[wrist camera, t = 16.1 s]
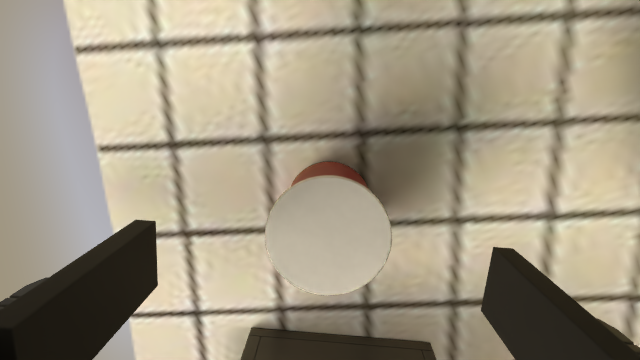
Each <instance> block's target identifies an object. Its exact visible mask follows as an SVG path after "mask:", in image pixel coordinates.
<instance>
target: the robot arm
mask: <svg viewBox="0 0 640 360" xmlns="http://www.w3.org/2000/svg"><path fill="white" fill-rule="evenodd" d="M157 286H158V281H157V251H156V221H145V220H135V221H133V222H132V223H130V224H129V225H127V226H126V227H124V228H123V229H121V230H120V231H118V232H117V233H115V234H114V235H112V236H111V237H109V238H108V239H106V240H105V241H103V242H102V243H100V244H99V245H97V246H96V247H94V248H93V249H91V250H90V251H88V252H87V253H85V254H84V255H82V256H81V257H79V258H78V259H76V260H75V261H73V262H72V263H70V264H69V265H67V266H66V267H64V268H63V269H61V270H60V271H58V272H57V273H55V274H54V275H52V276H51V277H49V278H44V279H41V280H39V281H36V282H34V283H31V284H29V285H27V286H25V287H23V288H22V289H20V290H18V291H17V292H16V293H14V294H12V295H11V296H10V298H6V299H4V300H3V301H1V302H0V360H92V359H93V358H94V357H95V356H96V355H97V354H98V352H99V351H100V350H101V349H102V348H103V347H104V346H105V345H106V343H107V342H108V341H109V340H110V339H111V338H112V337H113V336H114V334H115V333H116V332H117V331H118V330H119V329H120V328H121V326H122V325H123V324H124V323H125V322H126V321H127V320H128V319H129V317H130V316H131V315H132V314H133V313H134V312H135V311H136V310H137V308H138V307H139V306H140V305H141V304H142V303H143V302H144V300H145V299H146V298H147V297H148V296H149V295H150V294H151V292H152V291H153V290H154V289H155V288H156V287H157ZM481 311H482V313H483V314H484V316H485V317H486V318H487V320H488V321H489V323H490V324H491V325H492V327H493V328H494V330H495V331H496V333H497V334H498V335H499V337H500V338H501V340H502V341H503V343H504V344H505V345H506V347H507V348H508V350H509V351H510V353H511V354H512V355H513V357H514V358H515V360H640V348H639V347H638V346H637V345H634V344H633V342H632V341H631V340H630V339H628V338H627V337H626V336H625V335H623V334H622V333H621V332H620V331H619V330H617V329H615V328H614V327H612V326H610V325H608V324H606V323H605V322H603V321H601V320H599V319H596V318H595V317H594V316H592V315H591V314H590V313H589V312H588V311H586V310H585V309H584V308H583V307H582V306H581V305H579V304H578V303H577V302H576V301H575V300H573V299H572V298H571V297H570V296H569V295H567V294H566V293H565V292H564V291H563V290H562V289H560V288H559V287H558V286H557V285H556V284H554V283H553V282H552V281H551V280H550V279H549V278H547V277H546V276H545V275H544V274H543V273H541V272H540V271H539V270H538V269H537V268H535V267H534V266H533V265H532V264H531V263H530V262H528V261H527V260H526V259H525V258H524V257H522V256H521V255H520V254H519V253H518V252H517V251H515V250H514V249H511V248H498V247H493V252H492V257H491V262H490V267H489V272H488V277H487V282H486V287H485V292H484V297H483V302H482V307H481Z"/></svg>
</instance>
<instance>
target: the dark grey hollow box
mask: <svg viewBox="0 0 640 360" xmlns="http://www.w3.org/2000/svg"><path fill="white" fill-rule="evenodd" d="M241 360H436V357H435V354H434V352H433V349H432V346H431V344H430V343H427V342H415V341H403V340H391V339H379V338H367V337H355V336H343V335H331V334H319V333H307V332H296V331H284V330H272V329H260V328H251V330H250V333H249V336H248V339H247V342H246V345H245V348H244V351H243V354H242V357H241Z"/></svg>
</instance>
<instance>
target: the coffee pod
mask: <svg viewBox="0 0 640 360" xmlns="http://www.w3.org/2000/svg"><path fill="white" fill-rule="evenodd" d="M265 243H266V249H267V252H268V255H269V258H270V260H271V262H272V264H273V265H274V267H275V268H276V270H277V271H278V272H279V273H280V275H281V276H282V277H283V278H284V279H285V280H287V281H288V282H289V283H291V284H292V285H293V286H295V287H297V288H299V289H301V290H303V291H306V292H309V293H313V294H317V295H328V296H332V295H341V294H345V293H349V292H352V291H355V290H357V289H359V288H361V287H362V286H364V285H365V284H367V283H368V282H370V281H371V280H372V279H373V278H374V277H375V276H376V275H377V274H378V273H379V272H380V270H381V269H382V267H383V266H384V264H385V262H386V260H387V258H388V255H389V252H390V248H391V243H392V231H391V225H390V220H389V218H388V215H387V213H386V210H385V209H384V207H383V205H382V203H381V202H380V201H379V199H378V198H377V197H376V196H375V195H374V194H373V193H372V192H371V191H370V190H369V189H368V187H367V185H366V183H365V181H364V180H363V178H362V177H361V176H360V175H359V174H358V173H357V172H356V171H355V170H354V169H352V168H350V167H349V166H346V165H344V164H341V163H337V162H321V163H317V164H314V165H311V166H309V167H308V168H306V169H304V170H303V171H302V172H301V173H300V174H299V175H298V176H297V177H296V178H295V180H294V181H293V183H292V185H291V187H290V188H289V189H287V190H286V191H285V192H284V193H283V194H282V195H281V196H280V197H279V199H278V200H277V201H276V202H275V204H274V206H273V208H272V209H271V212H270V214H269V216H268V219H267V223H266V229H265Z"/></svg>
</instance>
